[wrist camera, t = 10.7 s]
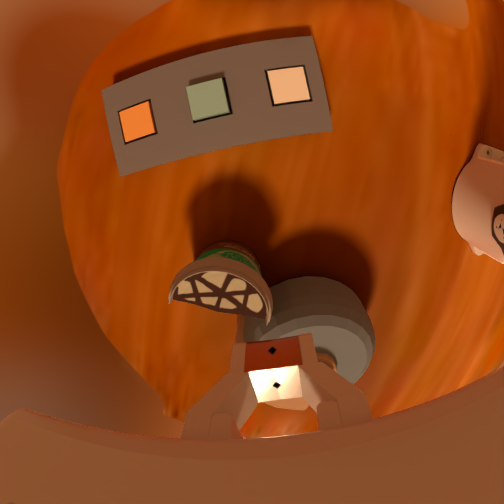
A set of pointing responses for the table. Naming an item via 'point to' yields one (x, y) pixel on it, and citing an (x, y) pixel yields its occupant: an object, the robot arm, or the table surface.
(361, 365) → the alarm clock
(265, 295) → the food container
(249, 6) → the table surface
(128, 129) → the orange button
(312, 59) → the button board
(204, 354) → the table surface
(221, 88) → the olive green button
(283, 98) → the cream button
